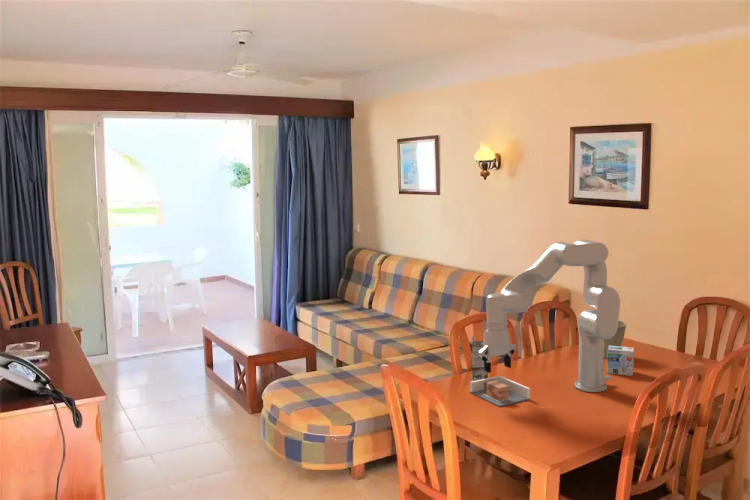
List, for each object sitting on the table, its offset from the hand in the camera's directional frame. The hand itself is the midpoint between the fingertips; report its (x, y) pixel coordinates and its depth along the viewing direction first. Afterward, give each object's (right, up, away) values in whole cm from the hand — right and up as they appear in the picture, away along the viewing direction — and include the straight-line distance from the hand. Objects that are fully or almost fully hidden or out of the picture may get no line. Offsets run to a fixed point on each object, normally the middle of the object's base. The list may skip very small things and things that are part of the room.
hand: (497, 369), depth 248 cm
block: (0, -11, +1) cm, 11 cm away
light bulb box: (+58, -7, +29) cm, 65 cm away
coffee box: (-3, -9, +21) cm, 23 cm away
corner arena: (+1, -11, +3) cm, 12 cm away
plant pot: (+61, -4, +52) cm, 81 cm away
